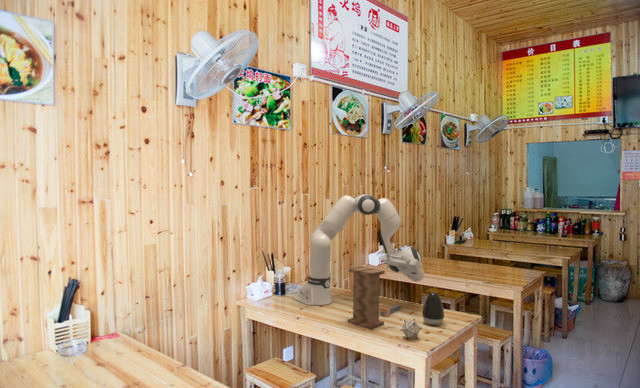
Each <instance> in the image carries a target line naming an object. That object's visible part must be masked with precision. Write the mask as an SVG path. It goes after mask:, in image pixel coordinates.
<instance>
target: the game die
mask: <svg viewBox="0 0 640 388" xmlns="http://www.w3.org/2000/svg"><path fill="white" fill-rule="evenodd" d="M403 321H404V322H403V325H402V327H401V329H399V331H401V332H402V333H403V334H404V336H406V341H408V340H409V339H412V338H416V339H418V335H419V334H420V330H421V329H423V327H422V326H421V327H420V325H418V323H417V322H416V319H415V317H414V318H413V319H411V320H405V319H404V320H403Z"/></svg>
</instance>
